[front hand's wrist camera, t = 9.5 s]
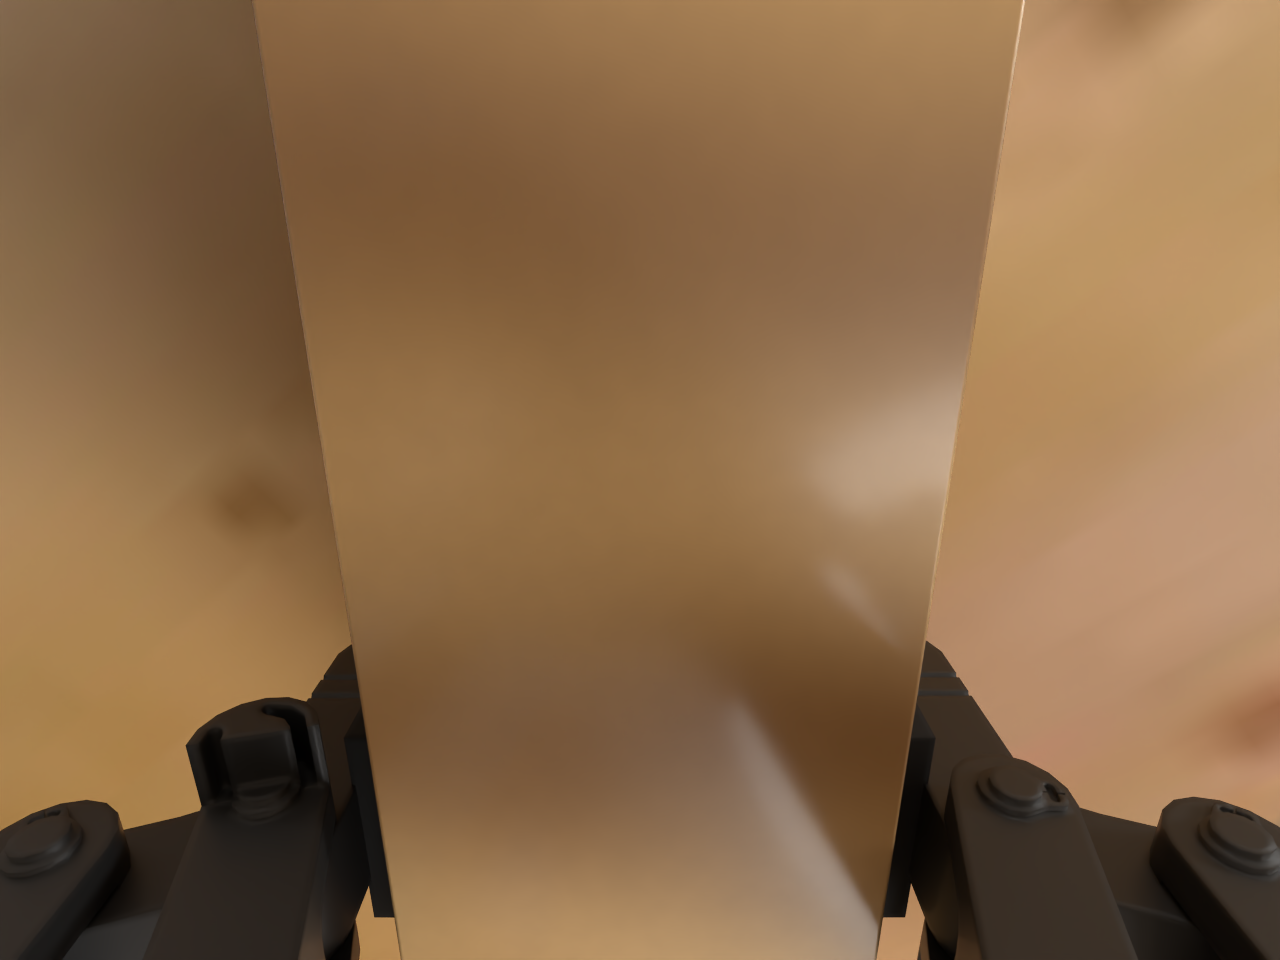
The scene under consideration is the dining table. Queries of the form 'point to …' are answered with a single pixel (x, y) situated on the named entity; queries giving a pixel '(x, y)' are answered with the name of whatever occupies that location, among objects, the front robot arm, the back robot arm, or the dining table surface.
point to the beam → (638, 441)
